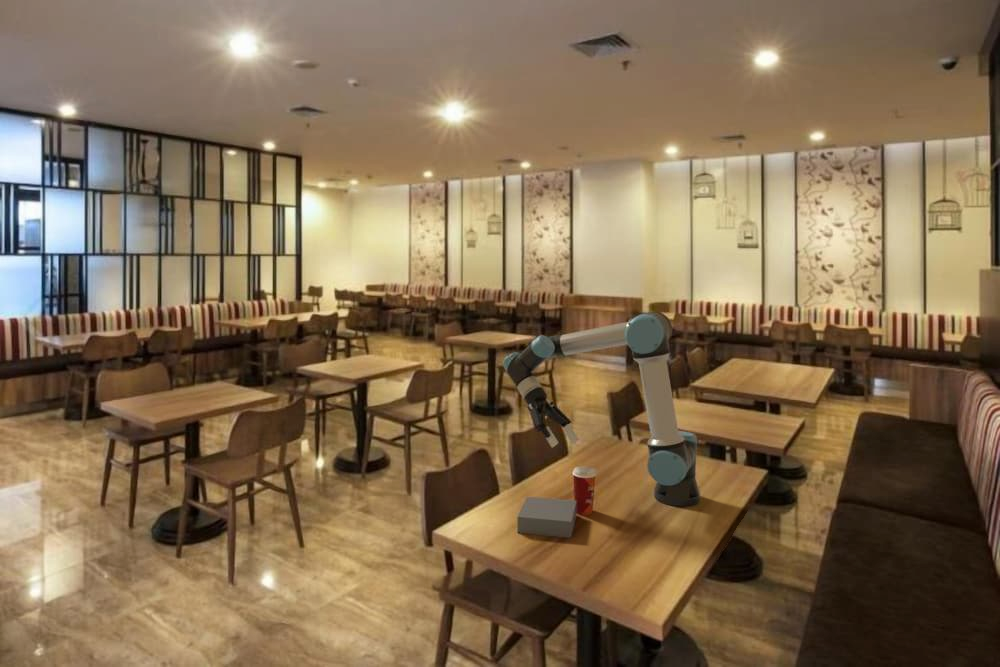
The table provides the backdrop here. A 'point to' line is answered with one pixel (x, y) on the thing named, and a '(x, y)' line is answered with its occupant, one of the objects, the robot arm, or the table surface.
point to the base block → (547, 517)
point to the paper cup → (584, 489)
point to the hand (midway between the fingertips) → (566, 443)
